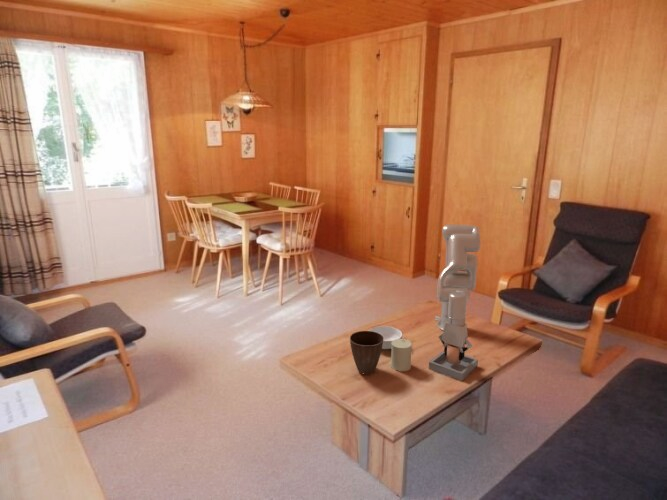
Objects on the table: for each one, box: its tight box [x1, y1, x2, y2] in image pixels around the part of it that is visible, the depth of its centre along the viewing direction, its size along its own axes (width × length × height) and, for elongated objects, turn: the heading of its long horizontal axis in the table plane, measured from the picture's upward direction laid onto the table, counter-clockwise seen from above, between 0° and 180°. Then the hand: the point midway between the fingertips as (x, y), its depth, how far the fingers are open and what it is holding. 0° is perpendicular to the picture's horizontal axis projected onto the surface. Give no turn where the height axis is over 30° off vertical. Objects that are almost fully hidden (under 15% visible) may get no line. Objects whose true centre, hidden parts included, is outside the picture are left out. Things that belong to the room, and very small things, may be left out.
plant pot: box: [349, 330, 384, 375], centre depth 201 cm, size 15×15×16 cm
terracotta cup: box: [446, 344, 461, 364], centre depth 203 cm, size 6×6×8 cm
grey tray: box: [428, 350, 479, 382], centre depth 204 cm, size 16×16×4 cm
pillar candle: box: [390, 338, 412, 372], centre depth 205 cm, size 9×9×12 cm
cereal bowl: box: [368, 325, 403, 350], centre depth 225 cm, size 17×17×7 cm
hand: (453, 356), depth 204 cm, fingers closed on terracotta cup, 6 cm apart
